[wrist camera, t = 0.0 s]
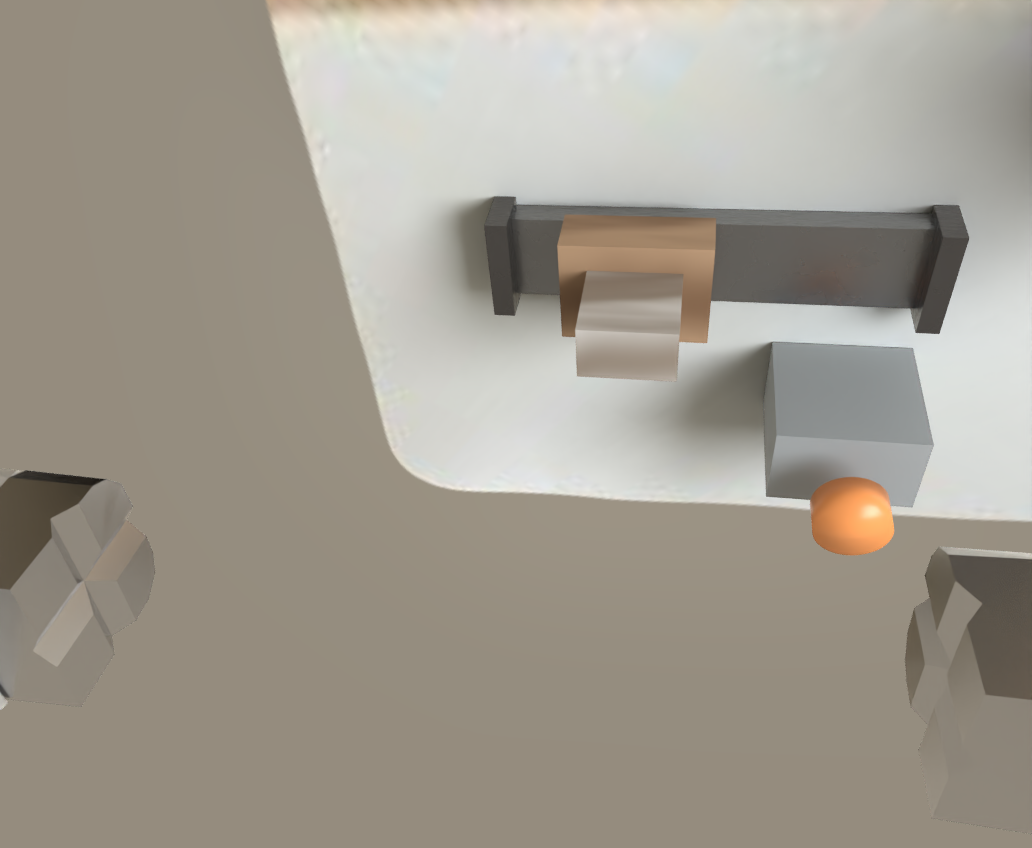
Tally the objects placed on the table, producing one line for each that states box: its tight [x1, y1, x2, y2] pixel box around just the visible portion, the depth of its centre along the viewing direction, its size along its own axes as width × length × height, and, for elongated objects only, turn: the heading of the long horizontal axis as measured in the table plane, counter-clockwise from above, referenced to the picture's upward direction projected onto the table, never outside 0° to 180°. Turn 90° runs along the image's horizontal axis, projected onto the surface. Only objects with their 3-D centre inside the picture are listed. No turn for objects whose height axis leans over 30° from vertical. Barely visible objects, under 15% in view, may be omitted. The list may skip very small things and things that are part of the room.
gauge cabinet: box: [763, 342, 934, 507], centre depth 53 cm, size 6×8×8 cm
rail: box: [484, 197, 969, 334], centre depth 50 cm, size 6×24×3 cm, turn 94°
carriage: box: [557, 215, 716, 382], centre depth 48 cm, size 6×8×8 cm
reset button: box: [810, 477, 894, 555], centre depth 48 cm, size 4×4×2 cm
